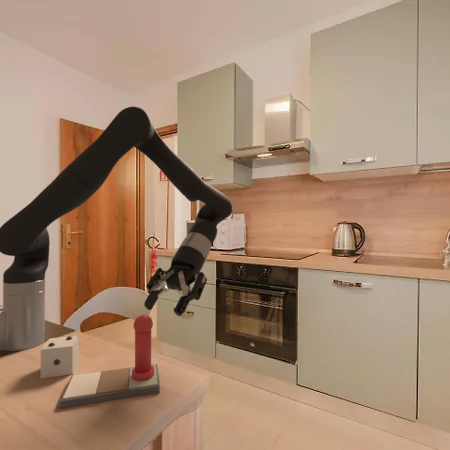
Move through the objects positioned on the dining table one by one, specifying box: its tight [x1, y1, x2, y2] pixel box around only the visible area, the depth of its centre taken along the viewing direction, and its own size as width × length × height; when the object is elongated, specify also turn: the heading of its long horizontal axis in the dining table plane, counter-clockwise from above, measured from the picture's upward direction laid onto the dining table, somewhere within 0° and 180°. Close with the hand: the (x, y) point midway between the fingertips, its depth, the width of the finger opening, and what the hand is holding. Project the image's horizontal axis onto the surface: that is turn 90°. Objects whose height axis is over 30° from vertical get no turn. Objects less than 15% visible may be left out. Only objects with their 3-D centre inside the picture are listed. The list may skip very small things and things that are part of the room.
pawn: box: [132, 314, 154, 381], centre depth 58 cm, size 4×4×12 cm
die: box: [40, 335, 80, 379], centre depth 63 cm, size 6×7×7 cm
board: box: [59, 363, 161, 409], centre depth 56 cm, size 17×9×1 cm, turn 106°
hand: (161, 311), depth 63 cm, fingers open, 8 cm apart
